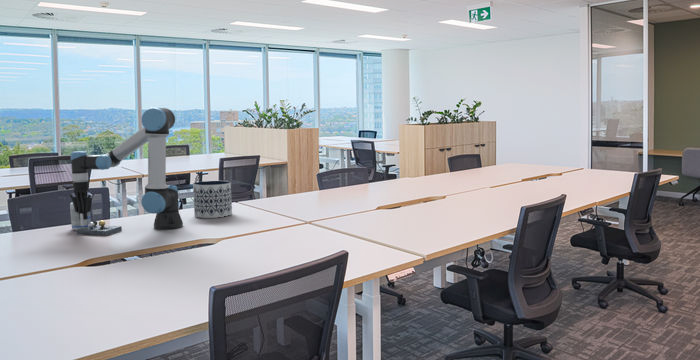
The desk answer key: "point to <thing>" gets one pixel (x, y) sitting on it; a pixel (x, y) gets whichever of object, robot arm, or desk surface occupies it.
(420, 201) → the desk surface
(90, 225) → the steel ball
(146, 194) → the robot arm
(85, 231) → the plate
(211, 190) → the planter
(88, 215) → the supplement tub
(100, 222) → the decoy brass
